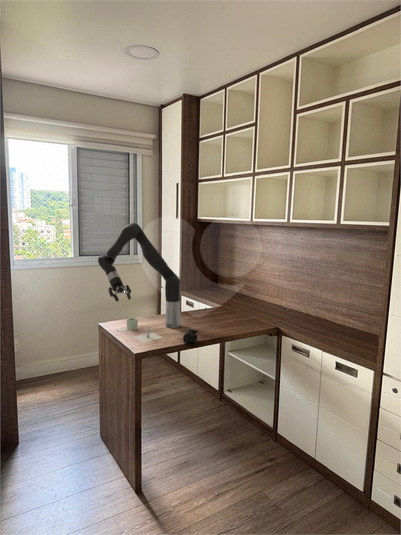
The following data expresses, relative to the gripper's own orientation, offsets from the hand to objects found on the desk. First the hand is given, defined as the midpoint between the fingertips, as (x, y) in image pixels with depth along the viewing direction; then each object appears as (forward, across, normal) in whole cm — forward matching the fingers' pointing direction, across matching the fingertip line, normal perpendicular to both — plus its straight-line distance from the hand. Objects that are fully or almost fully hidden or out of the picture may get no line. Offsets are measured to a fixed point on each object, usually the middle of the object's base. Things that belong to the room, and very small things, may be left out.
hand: (123, 300), depth 231 cm
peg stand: (+34, -2, -9) cm, 35 cm away
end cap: (+47, +15, -21) cm, 54 cm away
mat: (+20, -1, +5) cm, 21 cm away
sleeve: (+20, -1, +4) cm, 20 cm away
